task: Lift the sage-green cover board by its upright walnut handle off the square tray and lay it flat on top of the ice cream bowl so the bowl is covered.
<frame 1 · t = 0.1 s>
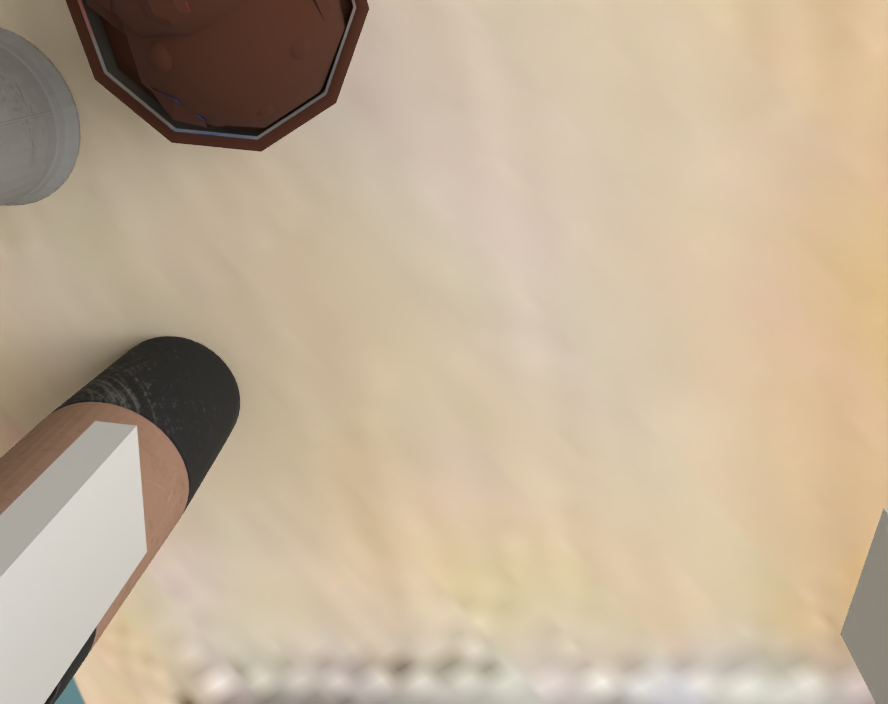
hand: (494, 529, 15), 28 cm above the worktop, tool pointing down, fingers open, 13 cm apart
travel mug: (180, 392, 47), on the worktop
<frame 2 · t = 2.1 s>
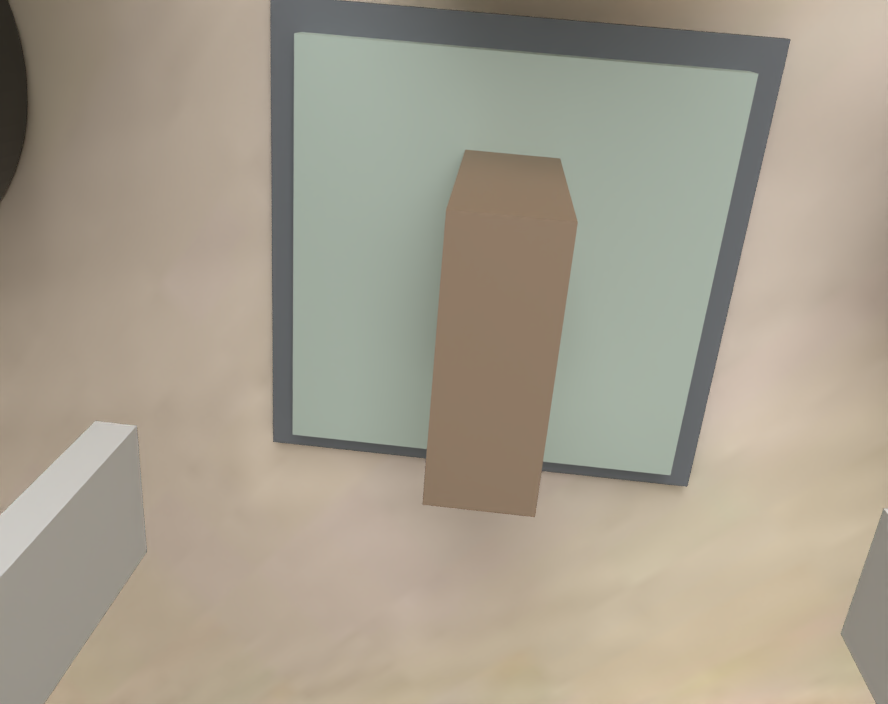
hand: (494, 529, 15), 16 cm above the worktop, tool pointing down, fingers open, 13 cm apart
cover board: (499, 265, 29), point 1 cm above the worktop, touching square tray
square tray: (500, 260, 29), on the worktop
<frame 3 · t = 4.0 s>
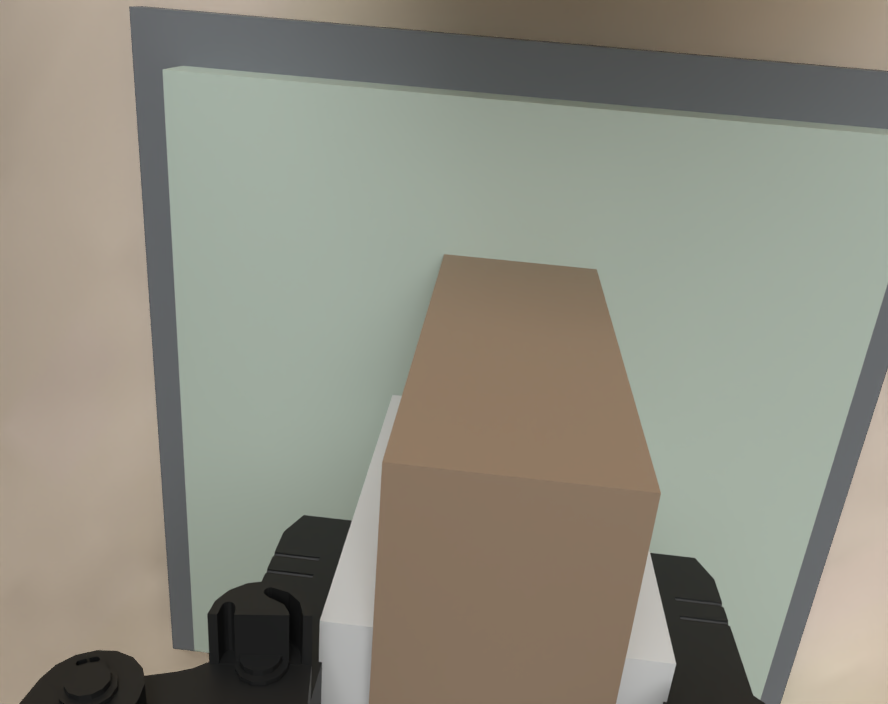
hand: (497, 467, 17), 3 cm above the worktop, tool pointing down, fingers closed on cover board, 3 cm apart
cover board: (499, 418, 19), point 1 cm above the worktop, touching gripper, square tray
square tray: (500, 406, 19), on the worktop
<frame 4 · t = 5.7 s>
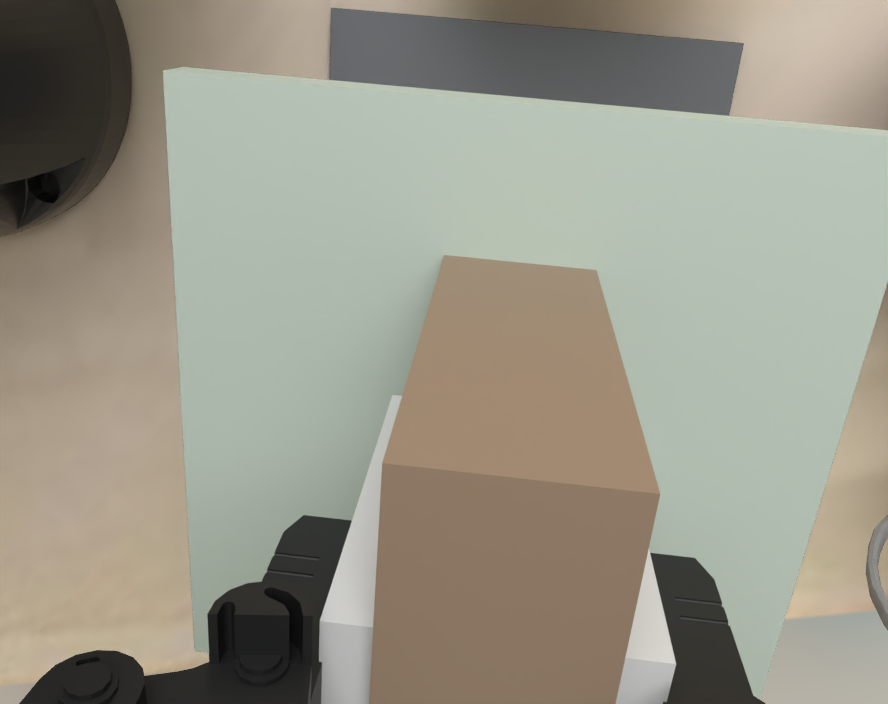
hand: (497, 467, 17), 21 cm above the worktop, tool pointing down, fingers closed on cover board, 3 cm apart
cover board: (499, 418, 19), point 18 cm above the worktop, touching gripper
square tray: (512, 223, 36), on the worktop
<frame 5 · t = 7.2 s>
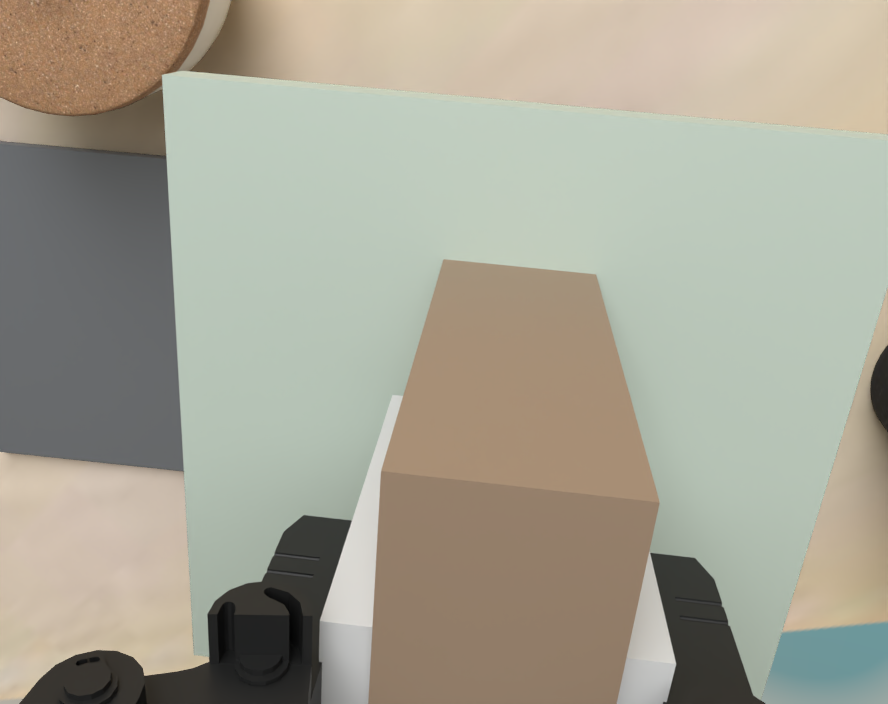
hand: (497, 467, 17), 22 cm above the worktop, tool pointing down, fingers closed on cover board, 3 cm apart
cover board: (499, 422, 19), point 20 cm above the worktop, touching gripper
square tray: (144, 319, 40), on the worktop
when the fingers open (19 cm above the worktop, at t = 7.9 s): cover board drops 2 cm, resting on ice cream bowl.
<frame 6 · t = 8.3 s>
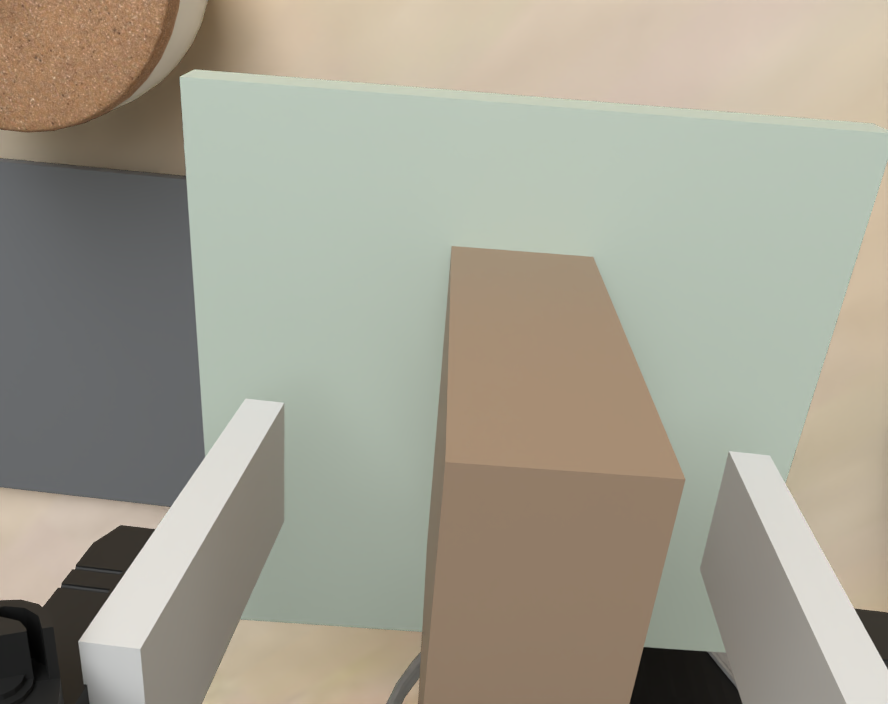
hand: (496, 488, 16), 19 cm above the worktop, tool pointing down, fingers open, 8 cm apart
glass holder: (557, 544, 40), on the worktop
cover board: (500, 392, 20), point 15 cm above the worktop, tilted 5°, touching ice cream bowl
square tray: (117, 345, 37), on the worktop
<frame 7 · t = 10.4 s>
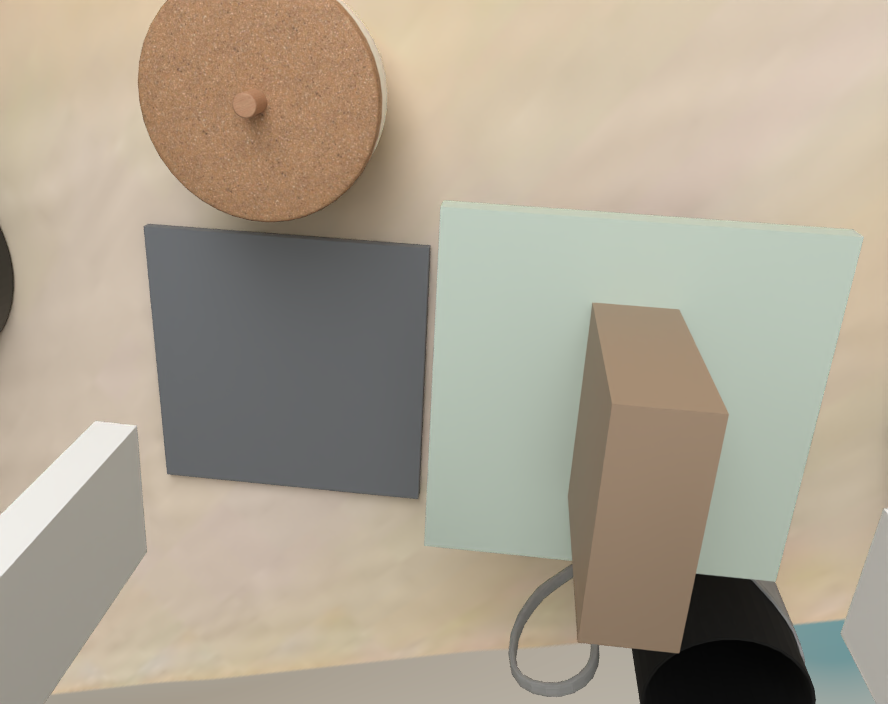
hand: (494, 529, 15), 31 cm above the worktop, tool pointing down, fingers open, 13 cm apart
glass holder: (628, 515, 51), on the worktop
cover board: (617, 396, 31), point 15 cm above the worktop, touching ice cream bowl
lidded jar: (303, 84, 43), on the worktop
square tray: (290, 365, 49), on the worktop
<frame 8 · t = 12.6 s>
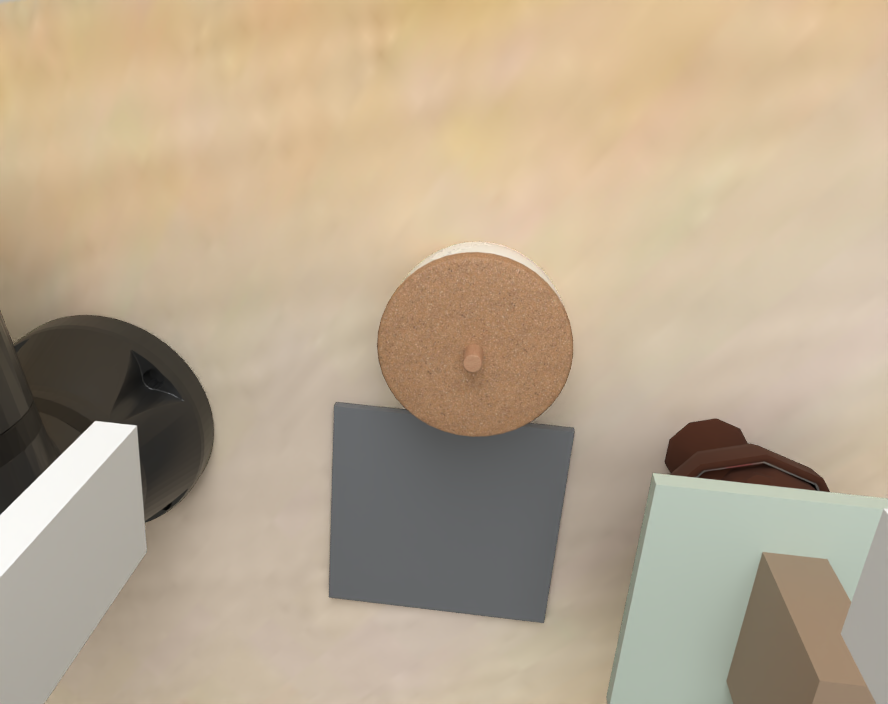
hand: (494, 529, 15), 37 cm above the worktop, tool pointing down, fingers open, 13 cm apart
ice cream bowl: (706, 454, 55), on the worktop, touching cover board
cover board: (769, 608, 41), point 15 cm above the worktop, touching ice cream bowl
lidded jar: (480, 302, 52), on the worktop
square tray: (444, 514, 58), on the worktop
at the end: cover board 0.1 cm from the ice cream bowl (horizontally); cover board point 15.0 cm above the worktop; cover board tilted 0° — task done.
